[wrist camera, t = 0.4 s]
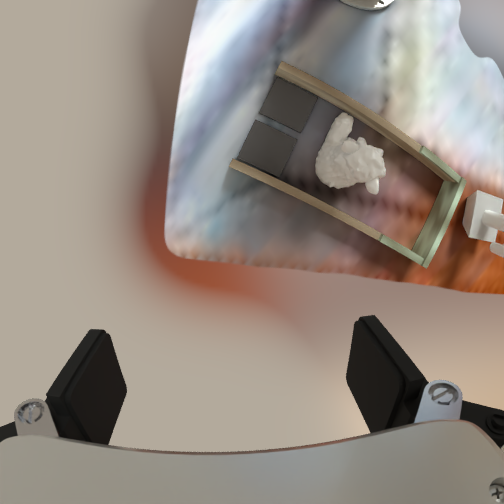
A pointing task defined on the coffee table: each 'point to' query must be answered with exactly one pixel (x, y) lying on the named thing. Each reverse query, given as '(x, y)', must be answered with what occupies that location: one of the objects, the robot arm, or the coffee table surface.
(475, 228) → the figurine
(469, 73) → the coffee table surface
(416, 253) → the lane
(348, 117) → the sitting furry creature
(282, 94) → the mats
